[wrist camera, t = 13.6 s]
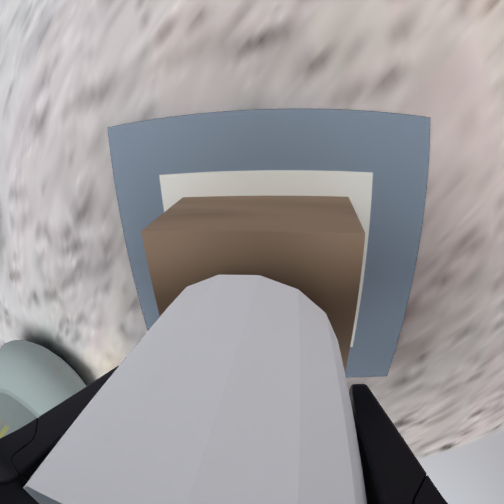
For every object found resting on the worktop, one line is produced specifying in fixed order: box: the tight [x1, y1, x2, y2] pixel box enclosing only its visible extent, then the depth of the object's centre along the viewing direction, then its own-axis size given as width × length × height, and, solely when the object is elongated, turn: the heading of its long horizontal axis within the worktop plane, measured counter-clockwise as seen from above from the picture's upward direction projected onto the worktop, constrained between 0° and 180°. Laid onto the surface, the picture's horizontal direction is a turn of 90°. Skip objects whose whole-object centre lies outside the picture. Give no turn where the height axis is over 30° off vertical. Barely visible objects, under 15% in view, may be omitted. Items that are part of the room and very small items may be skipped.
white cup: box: [23, 275, 367, 504], centre depth 7 cm, size 7×7×7 cm
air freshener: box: [0, 340, 86, 438], centre depth 19 cm, size 11×8×10 cm
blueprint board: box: [108, 109, 430, 377], centre depth 15 cm, size 14×14×1 cm
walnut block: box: [141, 196, 365, 371], centre depth 13 cm, size 7×7×4 cm
